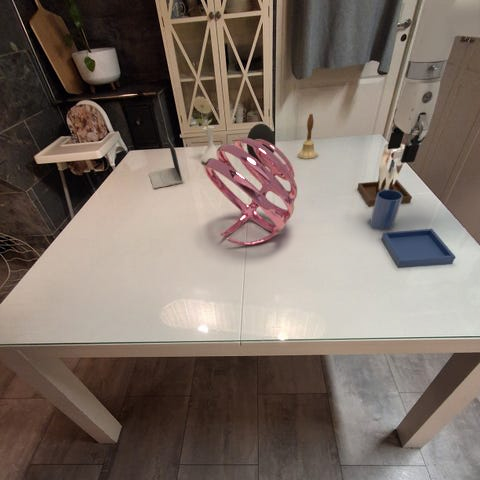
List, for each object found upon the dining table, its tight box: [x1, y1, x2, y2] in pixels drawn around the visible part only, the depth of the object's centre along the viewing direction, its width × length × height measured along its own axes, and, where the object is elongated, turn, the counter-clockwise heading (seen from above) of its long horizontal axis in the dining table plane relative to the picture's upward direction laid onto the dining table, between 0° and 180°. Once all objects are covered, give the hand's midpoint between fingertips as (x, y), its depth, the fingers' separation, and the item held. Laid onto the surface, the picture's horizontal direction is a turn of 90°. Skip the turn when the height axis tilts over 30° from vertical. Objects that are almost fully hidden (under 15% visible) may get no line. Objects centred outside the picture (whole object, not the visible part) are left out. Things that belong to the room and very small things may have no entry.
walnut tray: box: [357, 179, 413, 207], centre depth 103 cm, size 14×14×2 cm
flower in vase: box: [192, 95, 218, 164], centre depth 132 cm, size 13×11×25 cm
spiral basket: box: [203, 137, 298, 246], centre depth 85 cm, size 28×28×27 cm
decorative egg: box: [246, 123, 276, 164], centre depth 129 cm, size 12×12×15 cm
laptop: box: [148, 137, 183, 189], centre depth 127 cm, size 18×12×13 cm
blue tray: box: [381, 228, 456, 268], centre depth 81 cm, size 14×14×2 cm
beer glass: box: [374, 143, 406, 196], centre depth 98 cm, size 7×7×15 cm
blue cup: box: [369, 190, 403, 230], centre depth 89 cm, size 7×7×9 cm
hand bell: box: [297, 113, 318, 160], centre depth 129 cm, size 8×8×16 cm
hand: (399, 155), depth 78 cm, fingers open, 9 cm apart
